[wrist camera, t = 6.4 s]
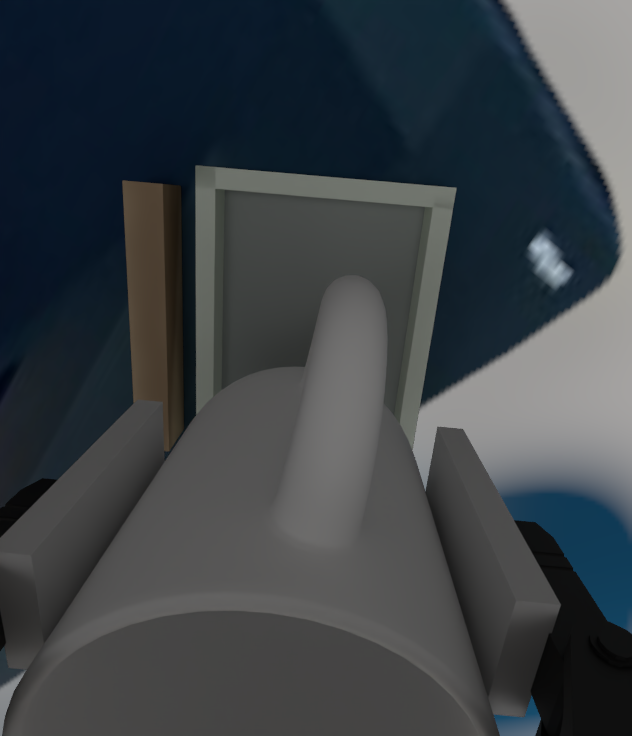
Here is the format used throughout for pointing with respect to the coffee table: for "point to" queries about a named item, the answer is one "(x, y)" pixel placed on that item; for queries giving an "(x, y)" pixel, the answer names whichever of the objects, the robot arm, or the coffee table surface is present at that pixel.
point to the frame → (313, 271)
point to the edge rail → (156, 298)
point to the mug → (272, 573)
